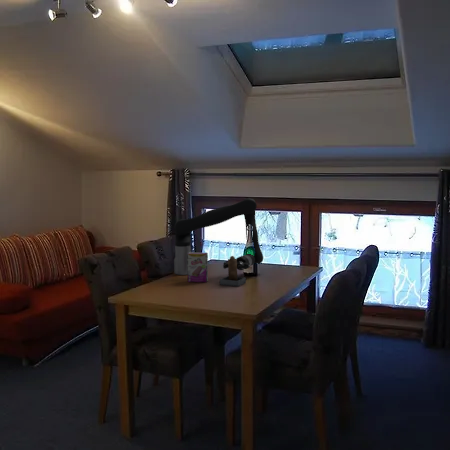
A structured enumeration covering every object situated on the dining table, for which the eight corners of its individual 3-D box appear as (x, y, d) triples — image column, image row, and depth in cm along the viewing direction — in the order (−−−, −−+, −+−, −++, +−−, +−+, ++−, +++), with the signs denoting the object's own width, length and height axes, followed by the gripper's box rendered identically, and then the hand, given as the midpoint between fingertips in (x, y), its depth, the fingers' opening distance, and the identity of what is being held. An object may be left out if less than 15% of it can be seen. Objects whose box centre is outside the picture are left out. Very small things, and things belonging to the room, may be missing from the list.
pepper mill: (227, 283, 286) (226, 256, 284) (230, 281, 290) (230, 254, 288) (235, 283, 283) (234, 256, 282) (238, 282, 288) (238, 255, 286)
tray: (220, 284, 285) (219, 279, 284) (227, 281, 293) (227, 276, 293) (238, 286, 280) (238, 281, 279) (245, 282, 289) (245, 277, 288)
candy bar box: (187, 282, 292) (186, 253, 290) (188, 280, 297) (188, 252, 295) (207, 282, 291) (206, 253, 289) (208, 280, 296) (207, 252, 294)
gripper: (232, 255, 301) (219, 259, 287) (254, 256, 295) (243, 261, 280) (232, 267, 302) (219, 273, 287) (254, 269, 296) (243, 275, 281)
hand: (231, 267), depth 284 cm, fingers open, 8 cm apart
